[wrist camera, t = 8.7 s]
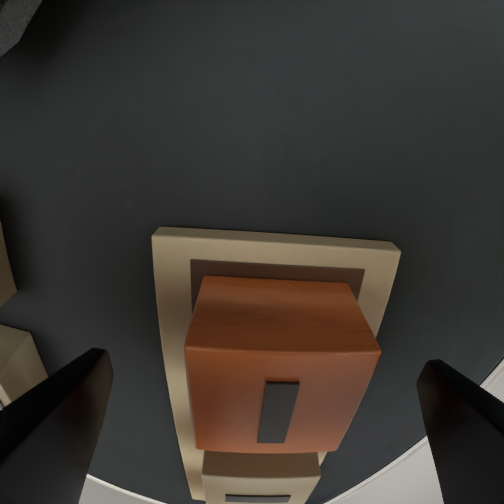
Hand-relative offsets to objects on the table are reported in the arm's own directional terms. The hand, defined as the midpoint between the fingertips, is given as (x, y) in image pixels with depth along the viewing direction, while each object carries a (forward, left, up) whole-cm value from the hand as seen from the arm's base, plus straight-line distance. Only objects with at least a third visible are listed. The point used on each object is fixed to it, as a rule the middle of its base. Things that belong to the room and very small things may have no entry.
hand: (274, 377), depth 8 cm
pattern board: (-6, 0, -3) cm, 7 cm away
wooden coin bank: (0, 0, -2) cm, 2 cm away
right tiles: (-9, 0, -2) cm, 9 cm away
